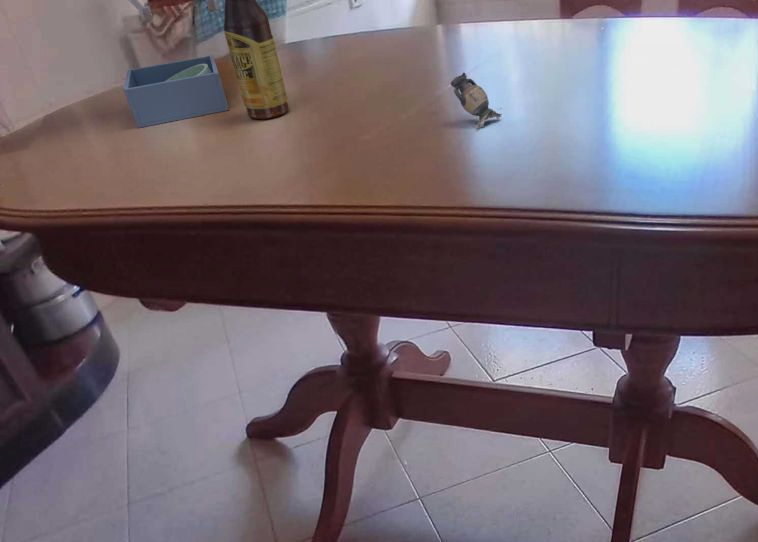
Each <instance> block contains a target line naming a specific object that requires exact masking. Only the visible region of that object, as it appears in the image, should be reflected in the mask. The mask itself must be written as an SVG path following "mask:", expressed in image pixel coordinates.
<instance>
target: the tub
mask: <svg viewBox="0 0 758 542" xmlns="http://www.w3.org/2000/svg"><path fill="white" fill-rule="evenodd" d="M198 64H207V65H208V66H209V68H210V69H211V71H212V73H210V74H204V75H199V76H193V77H188V78H182V79H177V80H171V81H166V80H167V79H169V78H170V77H172V76H174V75H175V74H177V73H179V72H181V71H183V70H185V69H187V68H190V67H192V66H195V65H198ZM164 81H166V82H164ZM123 92H124V95H125V97H126V101H127V103H128V105H129V107H130V111H131V113H132V116H133V118H134V121H135V123H136V125H137V128H138V129H140V128H145V127H151V126H156V125H160V124H161V125H162V124H166V123H171V122H170V121H172V122H177V121H182V120H187V119H192V118H196V117H201V116H206V115H212V114H216V113H223V112H227V110H228V111H230V106H229V103H228V100H227V97H226V93H225V88H224V86H223V82H222V80H221V76H220V73H219V70H218V67H217V63H216V60H215V57H214V54H211V55H205V56H199V57H194V58H188V59H181V60H176V61H171V62H166V63H160V64H154V65H148V66H142V67H137V68H131V69H127V71H126V75H125V81H124V87H123ZM176 120H177V121H176ZM165 122H166V123H165Z"/></svg>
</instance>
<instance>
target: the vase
mask: <svg viewBox="0 0 758 542" xmlns="http://www.w3.org/2000/svg"><path fill="white" fill-rule="evenodd" d="M468 74H470V72H468ZM450 86H451V87H453V88H454V89H453V93H454V95H455V96H456V98H457V99H458V100H459V102H460V105H461V107H462V108H463V109H464V111H465V112H467V113H468V114H469V115H472V116H476V117H478V118H479V121H478V123H477V124H476V125H473V126H472V127H470V128H469V129H470V130H472V129H473V128H474V130H475V132H477V130H478V129H480V128H485V122H486V120H488V119H493V118H496V119H497V120H499V119H501V117H502V115H503V113H498V112H497V111H499V112H500V111H501V110H502V109H503V108H502V107H500V108H496V110H497V111H496V110H494V109H492V108H490V107H489V105H490V102H489V98H488V95H487V93H486V91H485V90H484V89H483V87H482V86H480V85H478V84H477V83H476V82H475V80H473V79H472V78H467V74H466V72H463V73H462V74H461V75H458V76H455V78H453V79H452V81H451V82H450Z"/></svg>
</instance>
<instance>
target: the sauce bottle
mask: <svg viewBox="0 0 758 542" xmlns="http://www.w3.org/2000/svg"><path fill="white" fill-rule="evenodd" d="M223 17H224V20H223V32H224V36H225V37H224V38H225V41H226V44H227V47H228V50H229V55H230V59H231V63H232V66H233V69H234V74H235V77H236V80H237V84H238V87H239V92H240V94H241V98H242V102H243V105H244V107H245V110H246V112H247V115H248V117H250V118H251V119H257V120H268V119H272V118H276V117H279V116H282V115H284V114H286V113H287V112H289V109H290V108H289V103H288V100H289V99H288V94H287V89H286V86H285V82H284V78H283V73H282V69H281V64H280V60H279V56H278V51H277V47H276V42H275V39H274V36H273V34H272V29H271V24H270V20H269V17H268V15H267V13H266V11H265V10H264V9H263V7H262V6H261V5H260V4H259V3H258V1H257V0H224V16H223Z"/></svg>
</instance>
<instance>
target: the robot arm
mask: <svg viewBox="0 0 758 542" xmlns="http://www.w3.org/2000/svg"><path fill="white" fill-rule="evenodd" d="M128 1H129V2H130V4H132V5H133V6H134V7H135V9H137V10H138V13H139V15H140V19H141V21H142V23H144V22H146V23H147V22H151V21H154V16H153V14H152V13H151V11H152V10H151V8H150V6H149V5H146V6H144V5H142V3H140V1H139V0H128ZM205 2H206V4H207V8H208V11H209V12H208V13H212V12H220V7H219V3H218V0H205Z"/></svg>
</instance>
